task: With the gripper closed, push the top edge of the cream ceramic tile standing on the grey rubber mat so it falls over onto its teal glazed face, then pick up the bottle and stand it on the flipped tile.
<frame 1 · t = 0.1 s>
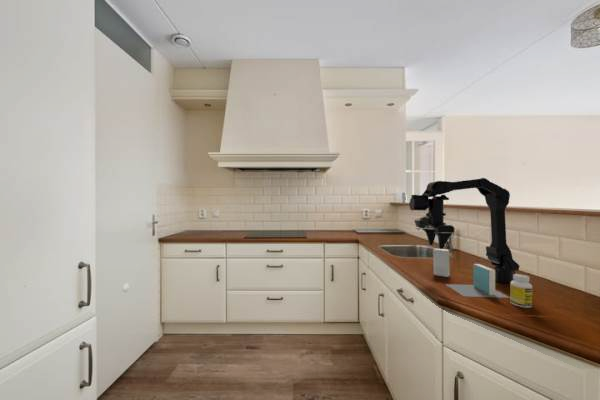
hand: (435, 246, 107), 15 cm above the counter, tool pointing down, fingers open, 9 cm apart
supplement bottle: (520, 305, 82), on the counter
skincare box: (441, 276, 115), on the counter
mat: (475, 291, 95), on the counter
tile: (483, 290, 95), resting on mat
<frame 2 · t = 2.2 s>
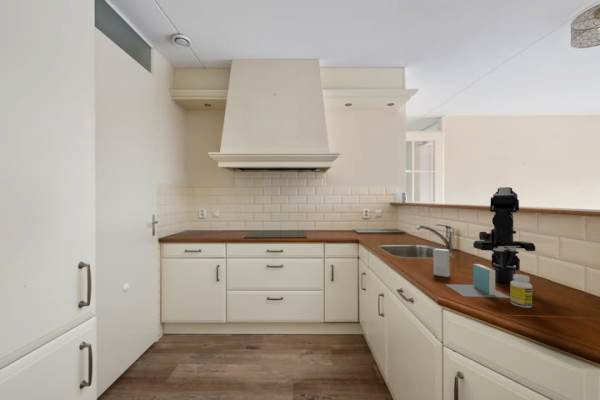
hand: (503, 268, 94), 9 cm above the counter, tool pointing down, fingers closed
nothing on the counter moved.
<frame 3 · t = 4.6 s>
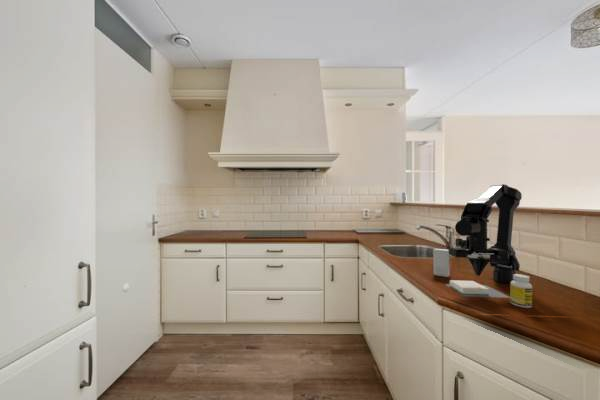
hand: (477, 275, 95), 6 cm above the counter, tool pointing down, fingers closed
tile: (480, 287, 95), point 2 cm above the counter, tilted 90°, touching mat
everything else where it was.
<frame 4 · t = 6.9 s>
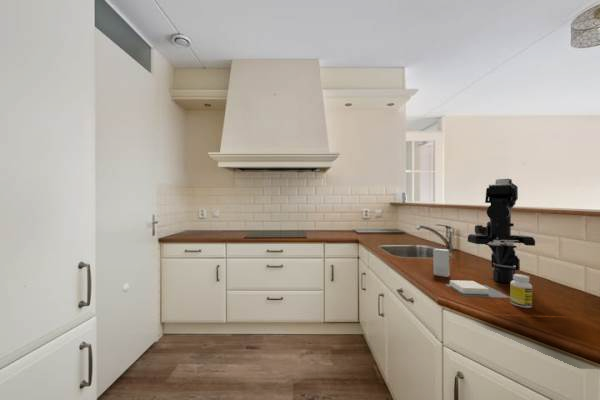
hand: (499, 264, 87), 12 cm above the counter, tool pointing down, fingers closed
nothing on the counter moved.
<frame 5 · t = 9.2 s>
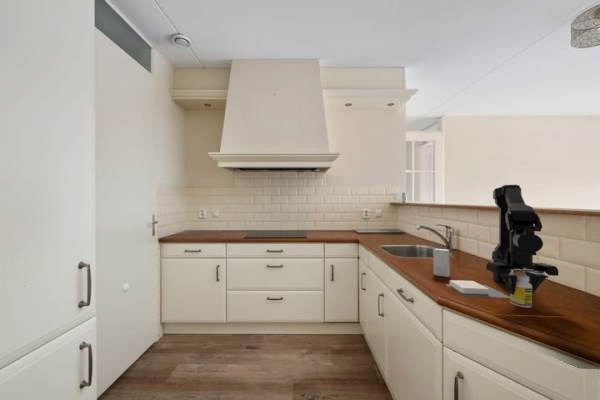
hand: (520, 294, 82), 4 cm above the counter, tool pointing down, fingers closed on supplement bottle, 5 cm apart
supplement bottle: (520, 305, 82), on the counter, touching gripper
everything else where it was.
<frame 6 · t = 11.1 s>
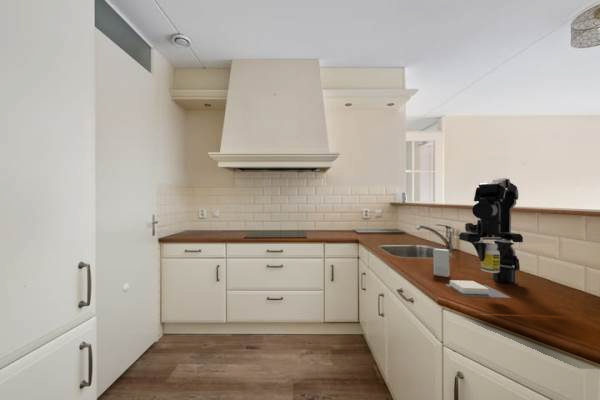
hand: (490, 261, 90), 13 cm above the counter, tool pointing down, fingers closed on supplement bottle, 5 cm apart
supplement bottle: (490, 271, 89), point 9 cm above the counter, touching gripper
everything else where it was.
when the fingers open (7 cm above the counter, at t = 13.0 s): supplement bottle stays where it is, resting on tile.
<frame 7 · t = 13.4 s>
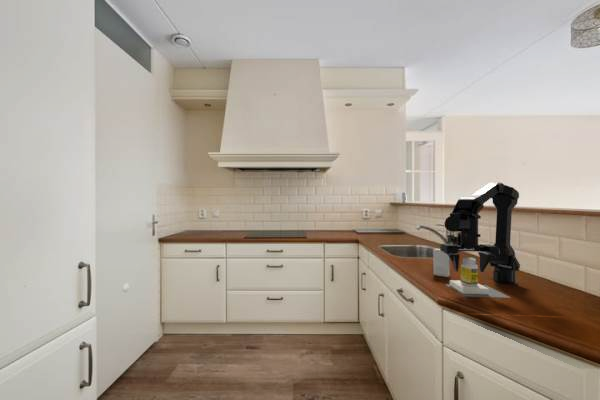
hand: (468, 271, 95), 7 cm above the counter, tool pointing down, fingers open, 9 cm apart
supplement bottle: (469, 284, 95), point 2 cm above the counter, touching tile
tile: (480, 287, 95), point 2 cm above the counter, tilted 90°, touching supplement bottle, mat
everything else where it was.
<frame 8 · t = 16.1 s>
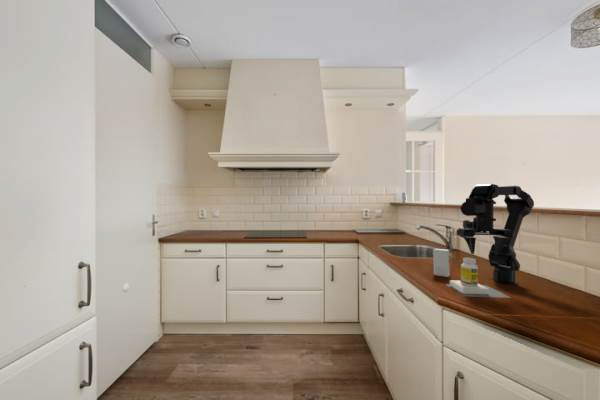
hand: (484, 254, 100), 13 cm above the counter, tool pointing down, fingers open, 9 cm apart
nothing on the counter moved.
at the end: tile tilted 90°; supplement bottle tilted 0° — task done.
